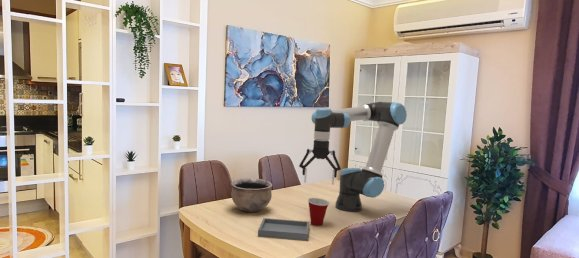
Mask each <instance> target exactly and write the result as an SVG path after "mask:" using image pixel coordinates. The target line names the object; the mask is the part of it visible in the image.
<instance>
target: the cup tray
mask: <svg viewBox="0 0 579 258" xmlns="http://www.w3.org/2000/svg"><path fill="white" fill-rule="evenodd" d="M309 226H310V221H305V220H295V219H282V218H281V219H280V218H267V217H263V219H262V220H261V223H260V224H259V227H258V230H257V237H259V238H260V237H261V238H270V239H271V238H272V239H285V240H295V241H296V240H297V241H307V242H308V240H309V229H310V227H309Z"/></svg>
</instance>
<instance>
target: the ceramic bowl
mask: <svg viewBox="0 0 579 258" xmlns="http://www.w3.org/2000/svg"><path fill="white" fill-rule="evenodd" d="M230 185H231V193H230V195H231V199H232V202H233V204H234V205H236V207H237V208H238V209H240V210H241V211H244V212H252V213H253V212H260V211H261V210H264V208H266V207H267V206H268V205H269V203H270V202H271V201H272V197H273V196H272V190H271V188H272V187H273V184H272V182H271V181H269V180H265V179H263V178H262V179H260V178H257V179H256V180H255V181H254V180H252V179H251V178H240V179H237V180H233V181H232V182H231V183H230Z"/></svg>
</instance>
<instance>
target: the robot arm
mask: <svg viewBox="0 0 579 258" xmlns="http://www.w3.org/2000/svg"><path fill="white" fill-rule="evenodd" d="M407 116H408V115H407V110H406V107H405V105H403V104H402V103H400V102H396V101H393V102H390V101H376V102H371V103H365V104H361V105H360V106H355V107H347V108H346V107H345V108H339V109H331V108H323V107H318V108H316V110H315V111H314V112H312V114H311V121H312V123H313V124H314V132H313V139H314V140H313V148H312V149H310V148H307V149H306V153H305V155H304V156H303V159H302V160H301V161H300V163H299V165H298V167H299V168H301V169H302V176H304V177H303V178H304V181H303V182H304V183H306V182H307V170H308V168H307V167H308V166H309V165H310V164H311V163H312V162H313V161H315V159H317V160H326V161H327V162H328V164H329V165H330V166H331V168H333V170H332V176H331V184H332V186H333V185H334V184H335V178H337V175H338V174H337V173H338V172H339V171H340V174H339V175H340V176H339V192H338V196H337V198H336V201H335V205H334V206H335V208H336V209H338V210H340V211H345V212H359V211H362V209H363V208H362V207H363V204H362V201H361V196H364V197H367V198H372V199H373V198H377V197H378V196H380V195H381V194H382V192H383V191H384V189H385V181H384V179H383V176H384V174H383V173H382V170H383V167H384V163H385V161H386V157H387V154H388V152H389V149H390V145H391V142H392V140H393V136H394V133H395V131H397V130H398V129H399V128H400V127H399V126H400V125H403V124H404V123H405V122H406V120H407ZM355 121H363V122H368V121H370V122H377V126H378V129H377V132H376V134H375V138H374V140H373V145H372V147H371V150H370V152H369V156H368V159H367V162H366V163H365V166H364V167H363V168H362V169H361V168H359V167H357V168H356V167H349V168H348V167H347V168H341V164H339V160H338V159H337V156H336V151H335V150H330V141H329V140H330V136H331V135H330V134H331V128H332V129H340V128H341V129H343V128H345V129H346V128H348V127H350V126H349V125H350V124H351V122H355ZM311 153H312V154H313V155H312V156H311V158H310V159H309V160H308V161H307V158H308V156H309V154H311ZM329 155H331V156H332V157H333V160H334V162H335V164H334V162H332V160H331V159H330V157H329ZM305 162H306V163H305ZM360 195H361V196H360Z"/></svg>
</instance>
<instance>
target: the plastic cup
mask: <svg viewBox="0 0 579 258" xmlns="http://www.w3.org/2000/svg"><path fill="white" fill-rule="evenodd" d="M307 201H308V209H309V218H310V219H309V220H310V225H312V226H314V227H320V226H321V227H322V225H323V223H324V220H325V216H326V212H327V209H328V206H329V205H330V201H328V200H326V199H324V198H319V197H310V198H308V199H307Z"/></svg>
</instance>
